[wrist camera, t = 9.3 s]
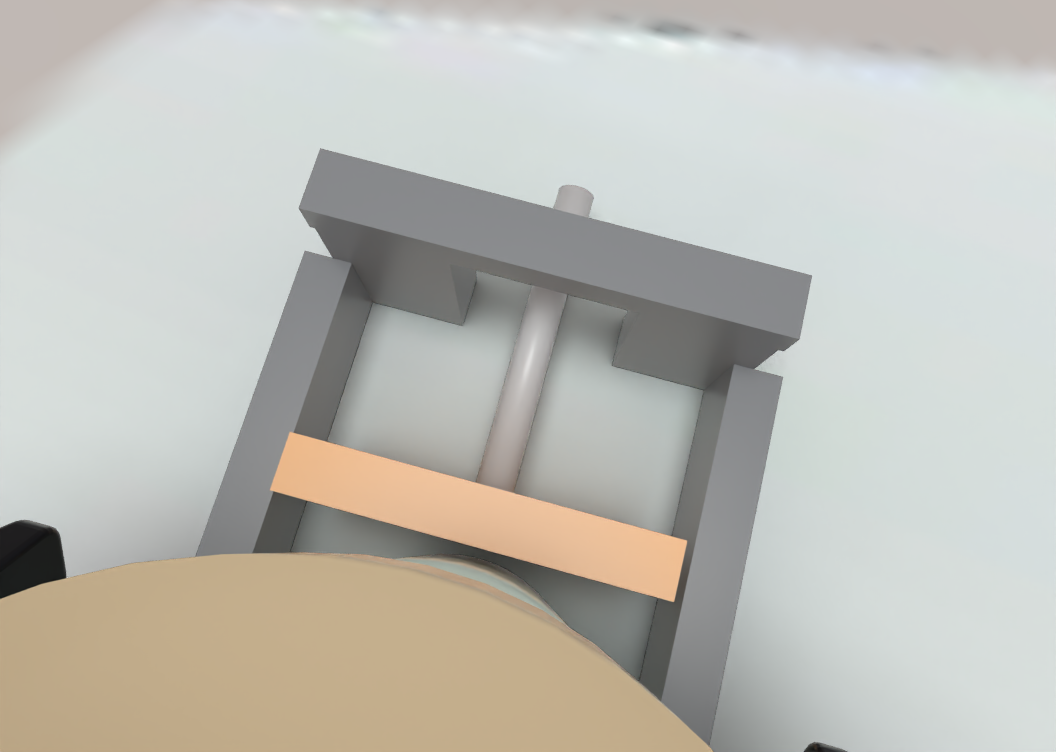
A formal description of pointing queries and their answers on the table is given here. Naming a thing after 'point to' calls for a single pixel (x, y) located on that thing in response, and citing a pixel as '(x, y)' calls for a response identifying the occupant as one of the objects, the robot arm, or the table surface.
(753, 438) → the grey bracket
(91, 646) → the jar
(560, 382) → the table surface
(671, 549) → the pusher
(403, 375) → the table surface
